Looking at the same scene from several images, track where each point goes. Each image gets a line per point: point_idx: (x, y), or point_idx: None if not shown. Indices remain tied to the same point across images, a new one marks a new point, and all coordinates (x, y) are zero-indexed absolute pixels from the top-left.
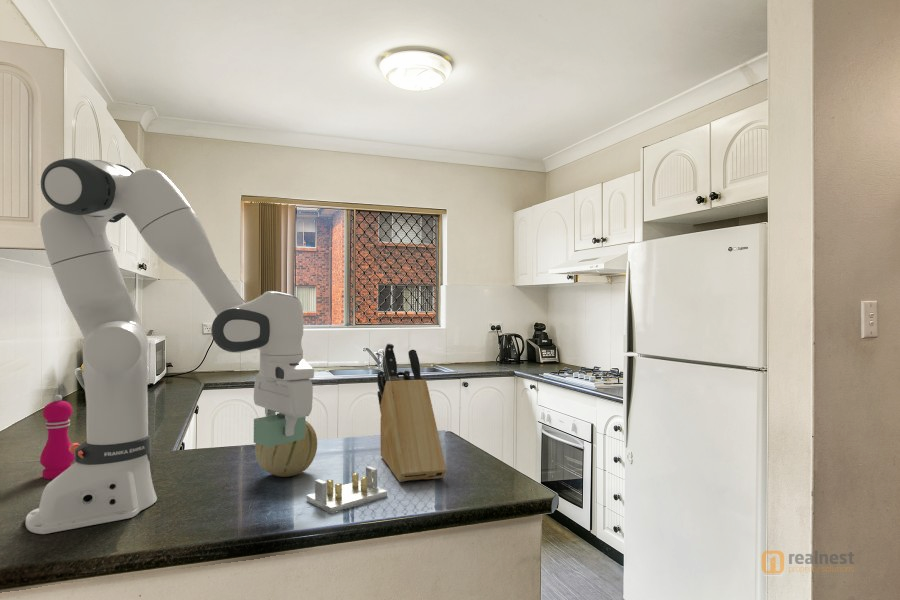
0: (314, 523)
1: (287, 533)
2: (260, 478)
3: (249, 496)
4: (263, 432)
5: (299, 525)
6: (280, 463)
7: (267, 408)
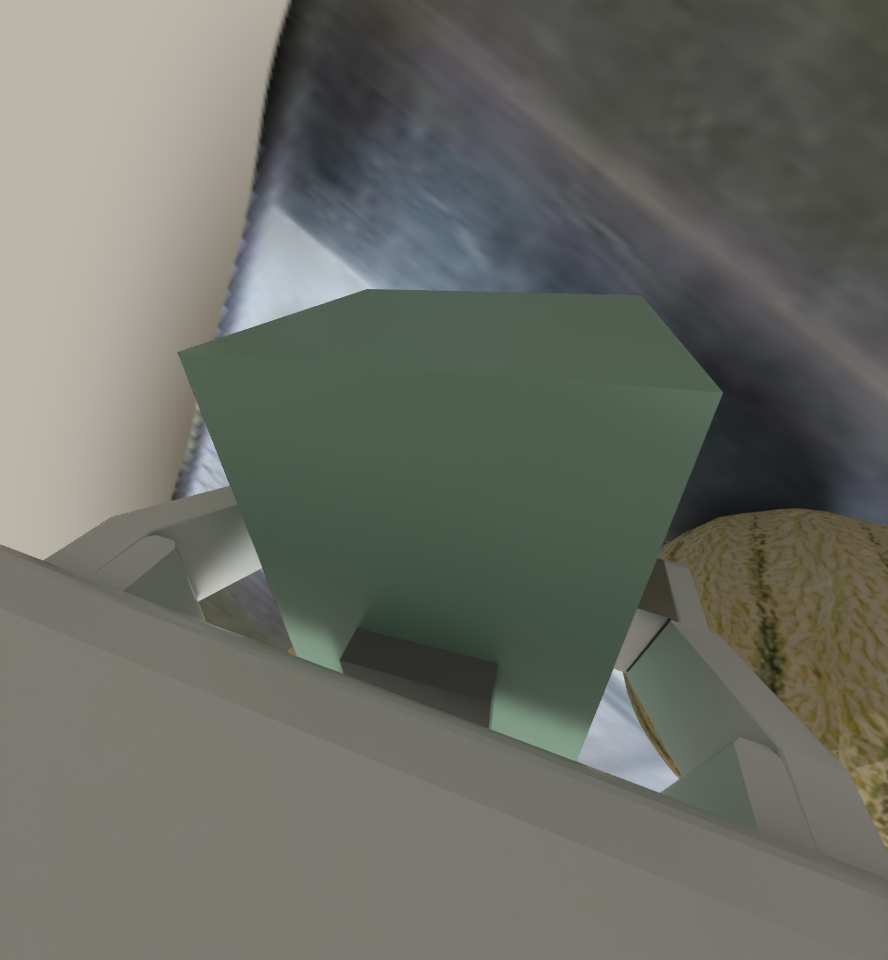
0: (277, 289)
1: (256, 160)
2: (846, 497)
3: (718, 318)
4: (410, 316)
5: (292, 242)
6: (707, 536)
7: (663, 803)
